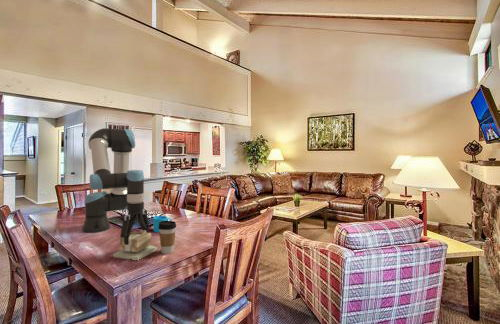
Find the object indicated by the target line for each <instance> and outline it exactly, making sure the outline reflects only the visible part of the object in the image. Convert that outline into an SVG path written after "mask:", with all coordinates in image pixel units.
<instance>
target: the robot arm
mask: <svg viewBox="0 0 500 324" xmlns="http://www.w3.org/2000/svg"><path fill="white" fill-rule="evenodd" d="M88 148H89V150H90V151H91V152H90V153H91V160H92V163H91V164H92V170H93V173H92V174H89V188H90V189H91V190H98V191H96V192H95V191H94V192H91V193H89V194H87V195H85V197H84V204H85V205H84V207H85V208H84V211H85V212H84V215H85V219H84V222H83V224H82V228H81V229H82V230H81V231H82V232H83V233H87V234H88V233H89V234H92V233H94V234H95V233H102V232H105V231H107V230H109V229H110V228H111V222H109V218H108V215H107V212H115V211H125V210H126V211H128V214H127V215H123V216H122V226H121V230H120V236H119V238H120V237H122V238H124V244H125V251H131V237H129V236H130V233H131V232H133V231H132V230H133V227H134V225H135V224H136V222H138V224H139V227H140V228H141V229H140V232H147V231H149V228H150V227H151V226H150V223H149V218H148V210H147V209H145V202H144V199H145V197H144V194H145V192H144V191H145V190H144V187H145V186H144V185H145V184H144V183H145V181H144V180H145V179H144V178H145V177H144V176H145V175H144V171H143V170H142V169H132V170H131V169H130V168H129V167H130V166H129V165H130V154H131V153H132V152H133V149H135V148H136V140H135V133H134V132H133V130H131V129H126V128H107V127H104V128H100V129H97V130H96V131H94V132H93V133H92V134H91V135H90V137H89V139H88ZM108 149H110V150H111V152H112V153H113V172H111V171H112V170H111V166H110V165H111V164H110V161H109V159H110V158H109V155H108ZM129 169H130V170H129ZM108 189H110V193H107V191H102V190H108ZM99 190H101V191H99Z"/></svg>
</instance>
